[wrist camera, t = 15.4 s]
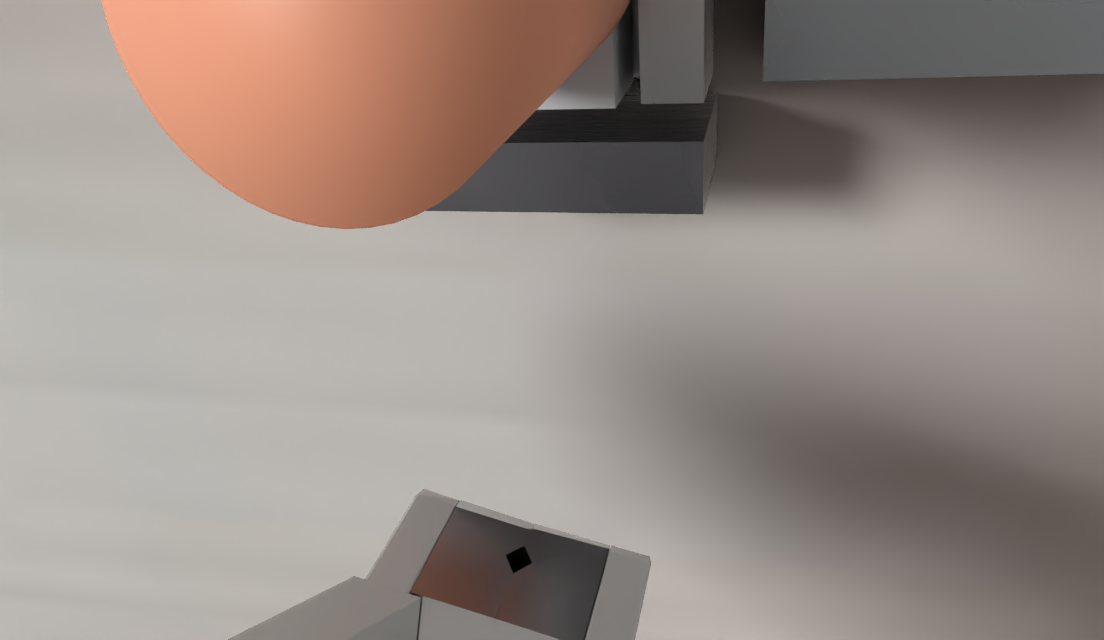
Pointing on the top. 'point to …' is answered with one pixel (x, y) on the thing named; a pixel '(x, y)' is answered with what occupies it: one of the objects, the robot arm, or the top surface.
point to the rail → (618, 134)
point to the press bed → (930, 38)
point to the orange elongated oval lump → (363, 91)
